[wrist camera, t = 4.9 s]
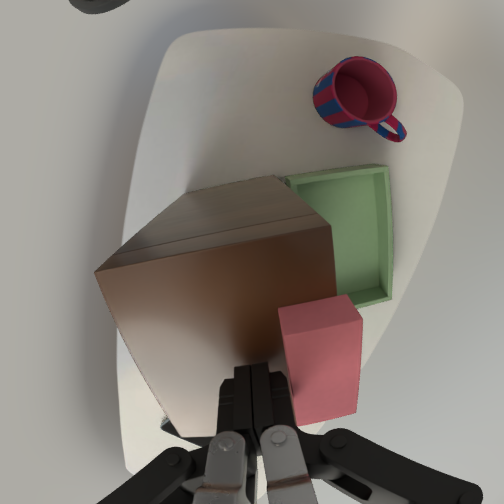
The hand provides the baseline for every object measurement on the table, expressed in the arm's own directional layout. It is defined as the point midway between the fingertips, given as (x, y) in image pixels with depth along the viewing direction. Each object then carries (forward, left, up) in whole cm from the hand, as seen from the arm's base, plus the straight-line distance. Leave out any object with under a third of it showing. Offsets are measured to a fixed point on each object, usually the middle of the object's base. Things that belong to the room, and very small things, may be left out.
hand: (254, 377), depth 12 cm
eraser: (0, +3, -1) cm, 3 cm away
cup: (-12, +14, -22) cm, 29 cm away
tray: (+2, +11, -22) cm, 24 cm away
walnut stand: (0, -1, -22) cm, 22 cm away
